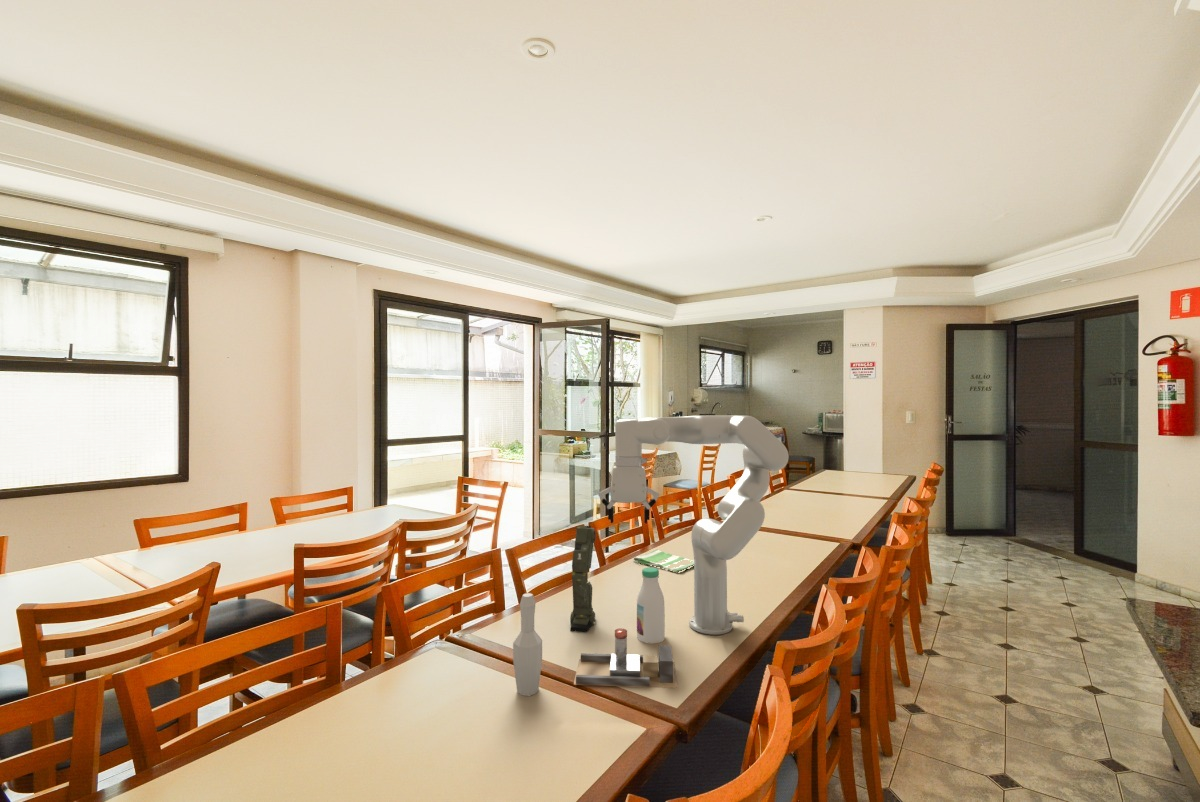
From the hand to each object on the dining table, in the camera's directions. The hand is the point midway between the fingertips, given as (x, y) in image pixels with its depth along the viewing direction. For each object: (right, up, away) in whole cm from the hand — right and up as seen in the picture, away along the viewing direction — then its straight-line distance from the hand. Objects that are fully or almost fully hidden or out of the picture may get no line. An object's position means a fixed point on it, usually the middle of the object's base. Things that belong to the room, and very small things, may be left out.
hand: (628, 522), depth 150 cm
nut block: (+4, -31, -23) cm, 39 cm away
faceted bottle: (-25, -33, -28) cm, 50 cm away
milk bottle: (+6, -33, -4) cm, 33 cm away
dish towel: (+20, -33, +68) cm, 78 cm away
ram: (-2, -31, -23) cm, 39 cm away
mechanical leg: (-13, -33, +9) cm, 36 cm away
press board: (-2, -32, -23) cm, 40 cm away
